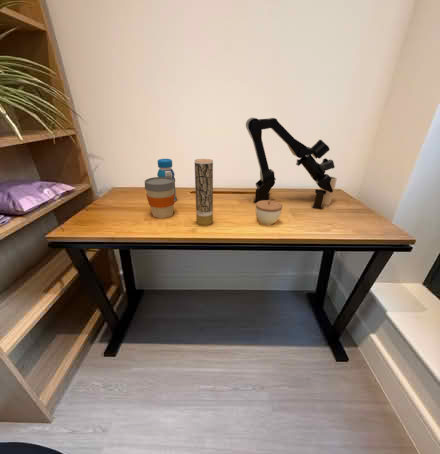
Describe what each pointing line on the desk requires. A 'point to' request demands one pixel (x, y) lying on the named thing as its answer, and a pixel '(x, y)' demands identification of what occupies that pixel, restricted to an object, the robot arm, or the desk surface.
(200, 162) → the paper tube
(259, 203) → the trinket box
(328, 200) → the pen pot
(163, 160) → the beverage bottle
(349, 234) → the desk surface
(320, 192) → the leg piece
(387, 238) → the desk surface
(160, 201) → the reusable coffee cup
